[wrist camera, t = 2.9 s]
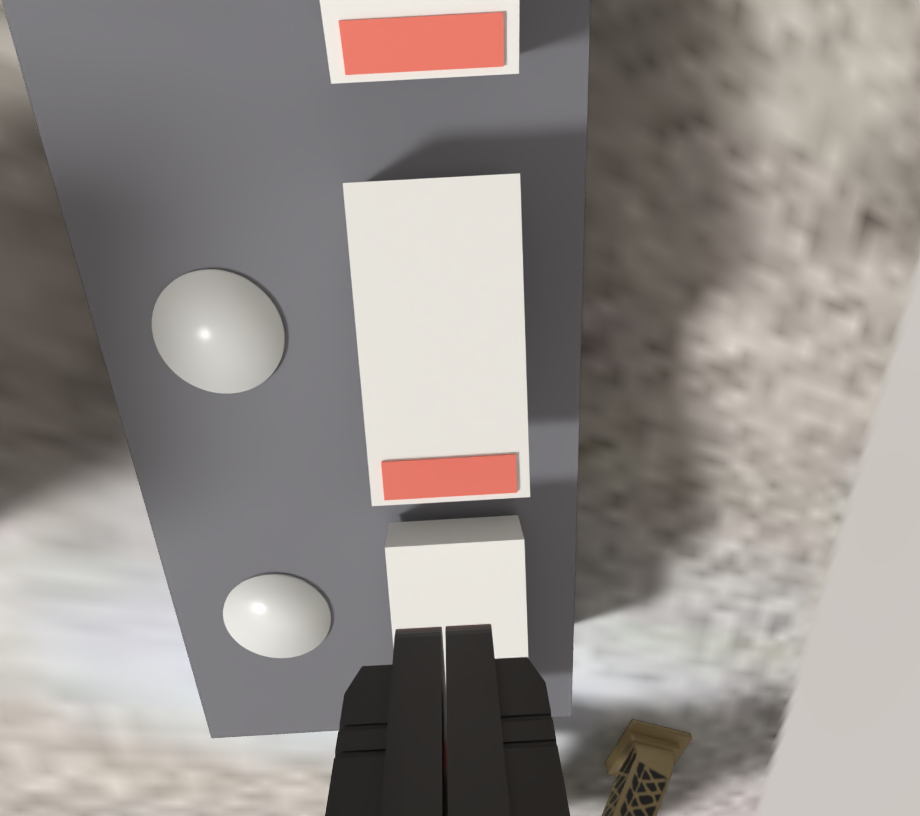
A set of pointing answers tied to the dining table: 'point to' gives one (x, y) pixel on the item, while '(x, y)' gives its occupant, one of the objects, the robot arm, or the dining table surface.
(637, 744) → the eiffel tower
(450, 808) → the robot arm
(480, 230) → the block
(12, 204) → the dining table surface
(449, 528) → the block
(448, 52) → the rocker
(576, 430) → the switch panel
